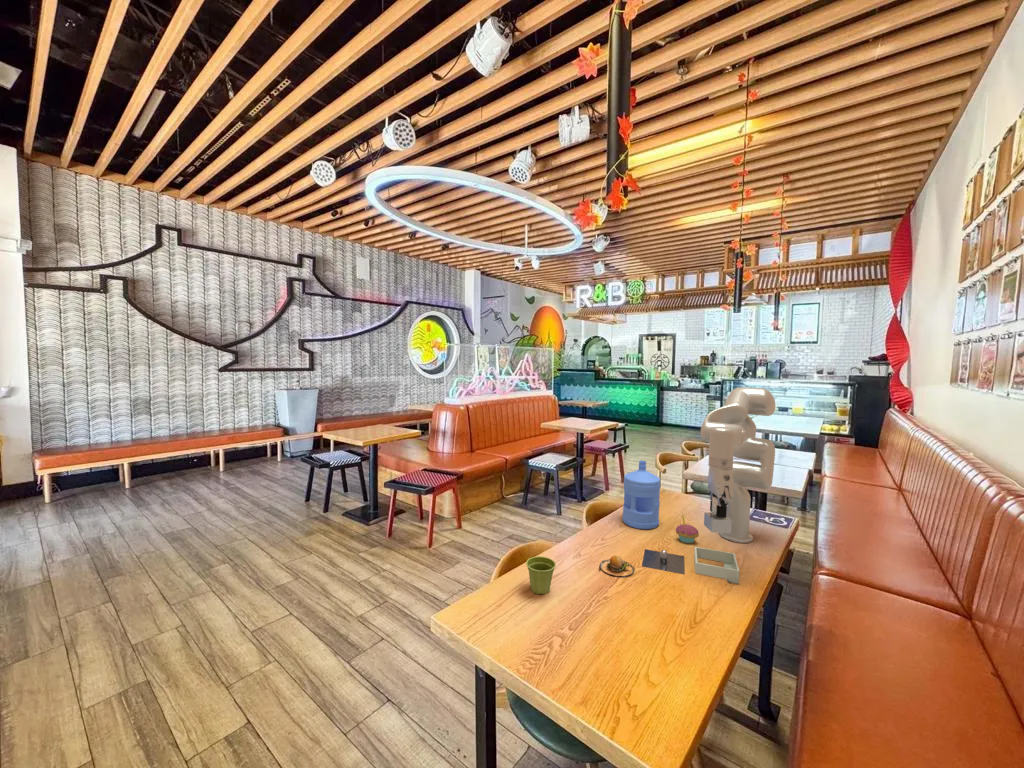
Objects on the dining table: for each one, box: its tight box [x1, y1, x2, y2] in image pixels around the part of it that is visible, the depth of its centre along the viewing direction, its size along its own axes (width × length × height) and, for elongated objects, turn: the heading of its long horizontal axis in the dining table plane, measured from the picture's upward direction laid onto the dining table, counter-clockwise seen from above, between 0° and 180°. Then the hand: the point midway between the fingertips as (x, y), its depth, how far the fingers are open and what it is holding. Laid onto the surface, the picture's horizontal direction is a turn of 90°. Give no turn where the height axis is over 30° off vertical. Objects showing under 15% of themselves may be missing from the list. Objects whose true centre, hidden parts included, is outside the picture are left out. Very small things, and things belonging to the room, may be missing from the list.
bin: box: [693, 546, 740, 585], centre depth 147 cm, size 13×13×5 cm
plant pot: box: [525, 555, 557, 595], centre depth 134 cm, size 9×9×9 cm
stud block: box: [641, 548, 686, 576], centre depth 151 cm, size 14×14×5 cm
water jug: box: [622, 460, 661, 530], centre depth 187 cm, size 16×16×28 cm
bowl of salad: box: [598, 555, 635, 578], centre depth 146 cm, size 12×12×8 cm
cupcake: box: [675, 512, 700, 544], centre depth 168 cm, size 9×8×12 cm
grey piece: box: [703, 496, 732, 533], centre depth 145 cm, size 6×6×11 cm
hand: (717, 513), depth 145 cm, fingers closed on grey piece, 4 cm apart
